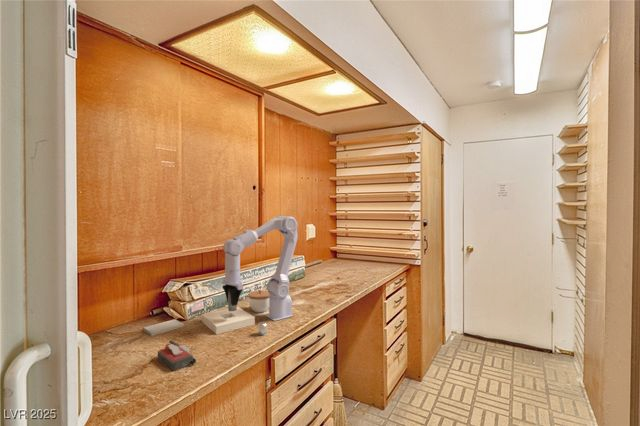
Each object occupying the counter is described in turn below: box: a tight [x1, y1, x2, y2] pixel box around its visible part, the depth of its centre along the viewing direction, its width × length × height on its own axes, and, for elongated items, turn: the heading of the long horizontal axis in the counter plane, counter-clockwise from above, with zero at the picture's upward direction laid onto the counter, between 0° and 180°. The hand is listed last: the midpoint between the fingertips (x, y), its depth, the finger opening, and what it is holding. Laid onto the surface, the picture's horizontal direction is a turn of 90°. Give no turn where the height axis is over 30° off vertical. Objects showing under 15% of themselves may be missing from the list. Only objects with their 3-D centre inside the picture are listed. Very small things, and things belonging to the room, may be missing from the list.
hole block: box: [201, 306, 256, 335], centre depth 131 cm, size 16×16×3 cm
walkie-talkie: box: [157, 339, 197, 372], centre depth 103 cm, size 9×4×20 cm
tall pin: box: [227, 291, 238, 311], centre depth 127 cm, size 3×3×8 cm
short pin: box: [257, 321, 268, 337], centre depth 121 cm, size 3×3×4 cm
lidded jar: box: [247, 289, 269, 313], centre depth 147 cm, size 11×11×9 cm
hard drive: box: [142, 318, 185, 337], centre depth 125 cm, size 2×8×12 cm
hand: (232, 303), depth 127 cm, fingers closed on tall pin, 3 cm apart
